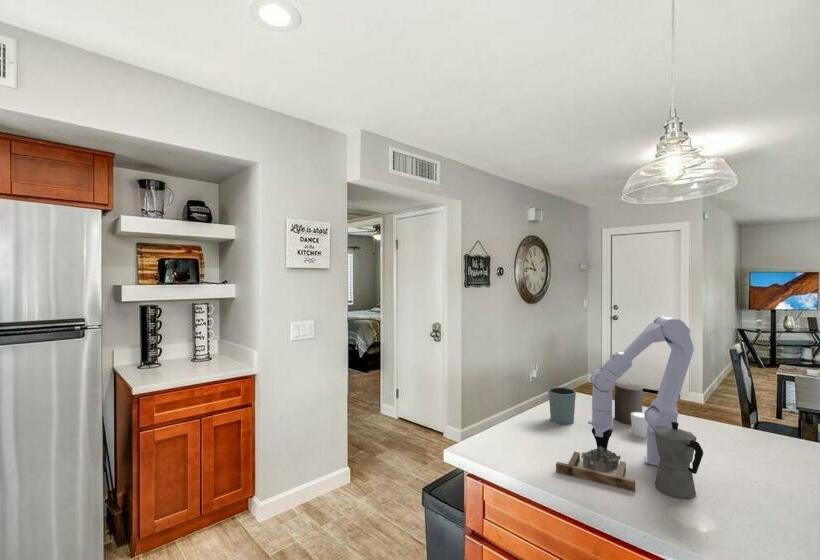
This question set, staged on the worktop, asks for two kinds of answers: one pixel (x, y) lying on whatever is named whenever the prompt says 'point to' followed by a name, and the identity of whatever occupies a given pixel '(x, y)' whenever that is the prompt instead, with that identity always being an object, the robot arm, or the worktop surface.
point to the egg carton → (600, 459)
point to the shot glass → (639, 424)
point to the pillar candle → (627, 401)
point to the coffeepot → (676, 461)
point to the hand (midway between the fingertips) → (602, 452)
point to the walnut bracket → (596, 473)
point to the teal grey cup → (562, 405)
